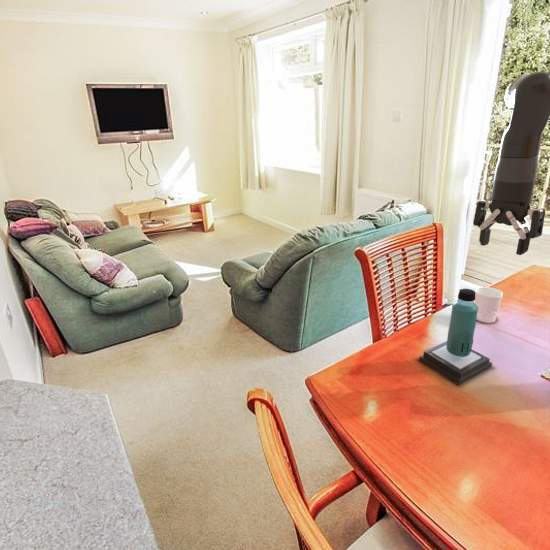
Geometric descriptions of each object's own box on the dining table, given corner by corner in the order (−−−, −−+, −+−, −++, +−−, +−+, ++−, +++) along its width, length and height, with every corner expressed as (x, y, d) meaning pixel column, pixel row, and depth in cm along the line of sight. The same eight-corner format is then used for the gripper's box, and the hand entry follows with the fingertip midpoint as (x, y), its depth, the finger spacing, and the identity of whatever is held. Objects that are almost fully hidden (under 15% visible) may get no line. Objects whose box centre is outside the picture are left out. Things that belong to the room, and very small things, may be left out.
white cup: (467, 318, 129) (472, 292, 125) (477, 310, 134) (481, 284, 130) (492, 326, 123) (498, 299, 119) (501, 317, 128) (506, 291, 124)
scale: (451, 345, 115) (452, 336, 114) (491, 367, 104) (493, 358, 103) (419, 360, 109) (420, 351, 108) (458, 385, 98) (460, 376, 97)
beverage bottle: (458, 364, 101) (469, 298, 93) (439, 352, 107) (448, 288, 99) (475, 357, 104) (488, 292, 96) (456, 345, 109) (466, 283, 101)
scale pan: (452, 346, 112) (452, 341, 111) (480, 361, 104) (481, 357, 104) (430, 356, 108) (431, 351, 107) (459, 373, 100) (459, 368, 100)
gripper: (560, 179, 76) (543, 254, 82) (493, 172, 88) (483, 238, 94) (539, 184, 73) (523, 261, 79) (472, 176, 84) (463, 245, 91)
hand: (501, 249), depth 86 cm, fingers open, 8 cm apart
